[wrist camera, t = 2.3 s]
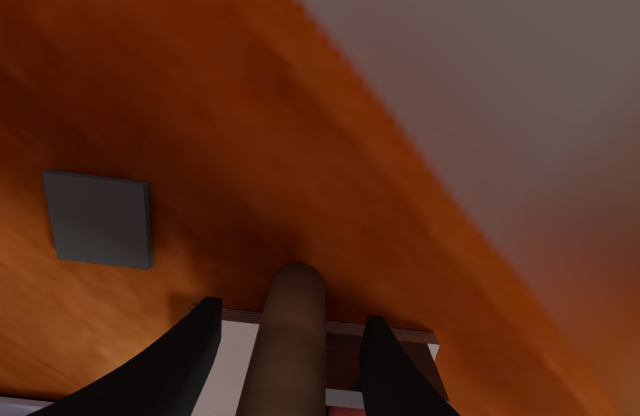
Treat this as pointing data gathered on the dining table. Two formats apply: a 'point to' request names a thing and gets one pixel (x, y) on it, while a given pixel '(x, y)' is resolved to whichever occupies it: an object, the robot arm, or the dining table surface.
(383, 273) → the dining table surface
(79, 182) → the pad
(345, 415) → the button
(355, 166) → the dining table surface
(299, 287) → the dowel
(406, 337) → the panel
